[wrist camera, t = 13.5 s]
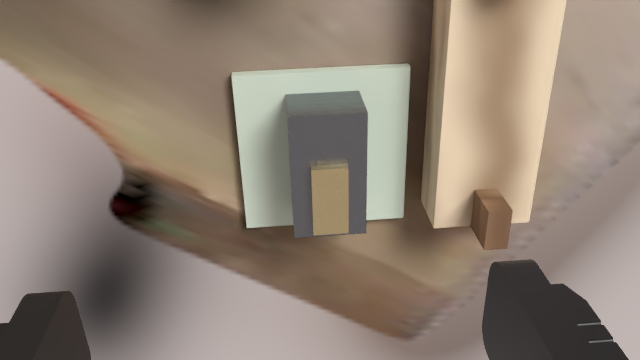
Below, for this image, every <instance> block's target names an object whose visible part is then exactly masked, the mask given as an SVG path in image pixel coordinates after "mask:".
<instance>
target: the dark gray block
mask: <svg viewBox="0 0 640 360" xmlns="http://www.w3.org/2000/svg"><path fill="white" fill-rule="evenodd" d="M286 107H287V125H288V143H289V162H290V180H291V198H292V214H293V227H294V238H301V237H316V236H331V235H346V234H361V233H366V209H367V142H368V112H367V109H366V107H365V104H364V102H363V99H362V97H361V94H360V91H340V92H321V93H302V94H286Z"/></svg>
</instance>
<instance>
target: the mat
mask: <svg viewBox="0 0 640 360" xmlns="http://www.w3.org/2000/svg"><path fill="white" fill-rule="evenodd" d="M410 69H411V67H410V65H409V64H408V63H405V64H385V65H366V66H346V67H326V68H306V69H286V70H266V71H247V72H232V76H231V77H232V86H233V96H234V106H235V116H236V126H237V136H238V146H239V156H240V165H241V175H242V185H243V195H244V205H245V215H246V225H247V228H255V227H271V226H286V225H293V214H292V198H291V180H290V162H289V143H288V125H287V107H286V94H302V93H321V92H340V91H360V94H361V97H362V99H363V102H364V104H365V107H366V109H367V112H368V142H367V209H366V220H377V219H393V218H403V213H404V192H405V172H406V151H407V131H408V110H409V90H410Z"/></svg>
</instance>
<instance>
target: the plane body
mask: <svg viewBox="0 0 640 360" xmlns="http://www.w3.org/2000/svg"><path fill="white" fill-rule="evenodd" d="M565 6H566V0H434V3H433V19H432V34H431V50H430V65H429V81H428V96H427V112H426V128H425V143H424V159H423V174H422V190H421V202H422V204H423V206H424V208H425V211H426V213H427V215H428V217H429V219H430V222H431V224H432V226H433V228H448V227H463V226H471V228H472V229H473V231H474V233H475V235H476V237H477V239H478V240H479V242H480V244H481V246H482V248H483V249H484V250H494V249H507V246H508V240H509V233H510V226H511V223H522V222H529V219H530V213H531V207H532V201H533V195H534V189H535V183H536V177H537V171H538V166H539V160H540V154H541V148H542V142H543V136H544V130H545V124H546V118H547V112H548V106H549V100H550V95H551V89H552V83H553V77H554V71H555V65H556V59H557V53H558V47H559V41H560V35H561V29H562V24H563V18H564V12H565Z"/></svg>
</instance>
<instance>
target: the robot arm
mask: <svg viewBox="0 0 640 360" xmlns="http://www.w3.org/2000/svg"><path fill="white" fill-rule="evenodd" d="M482 333H483V341H484V345H485V349H486V352H487V354H488V357H489V360H629V359H628V358H627V357H626V356H625V354H624V352H623V351H622V350H621V348H620V347H619V346H618V344H617V343H616V342H613V337H612V336H611V335H610V333H609V332H608V330H607V329H606V328H605V326H604V325H601V320H600V319H599V318H598V316H597V315H596V314H595V312H594V311H593V309H592V308H591V307H590V305H589V304H588V302H587V301H586V300H585V299H583V298H582V297H581V296H579V295H578V294H576V293H575V292H574V291H572V290H571V289H569V288H568V287H567V286H565V285H564V284H550V283H549V281H548V280H547V278H546V277H545V275H544V274H543V272H542V271H541V269H540V268H539V266H538V265H537V263H536V262H535V261H534V260H516V261H502V262H494V263H492V265H491V267H490V271H489V277H488V285H487V293H486V299H485V306H484V315H483V322H482ZM0 360H91V356H90V350H89V346H88V343H87V339H86V336H85V332H84V329H83V325H82V322H81V318H80V315H79V311H78V308H77V304H76V301H75V298H74V296H73V294H72V293H71V292H70V291H60V292H45V293H32V294H27V295H25V296H24V297H23V299H22V300H21V302H20V304H19V306H18V307H17V309H16V311H15V313H14V315H13V317H12V319H11V320H10V322H9V323H1V324H0Z"/></svg>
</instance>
